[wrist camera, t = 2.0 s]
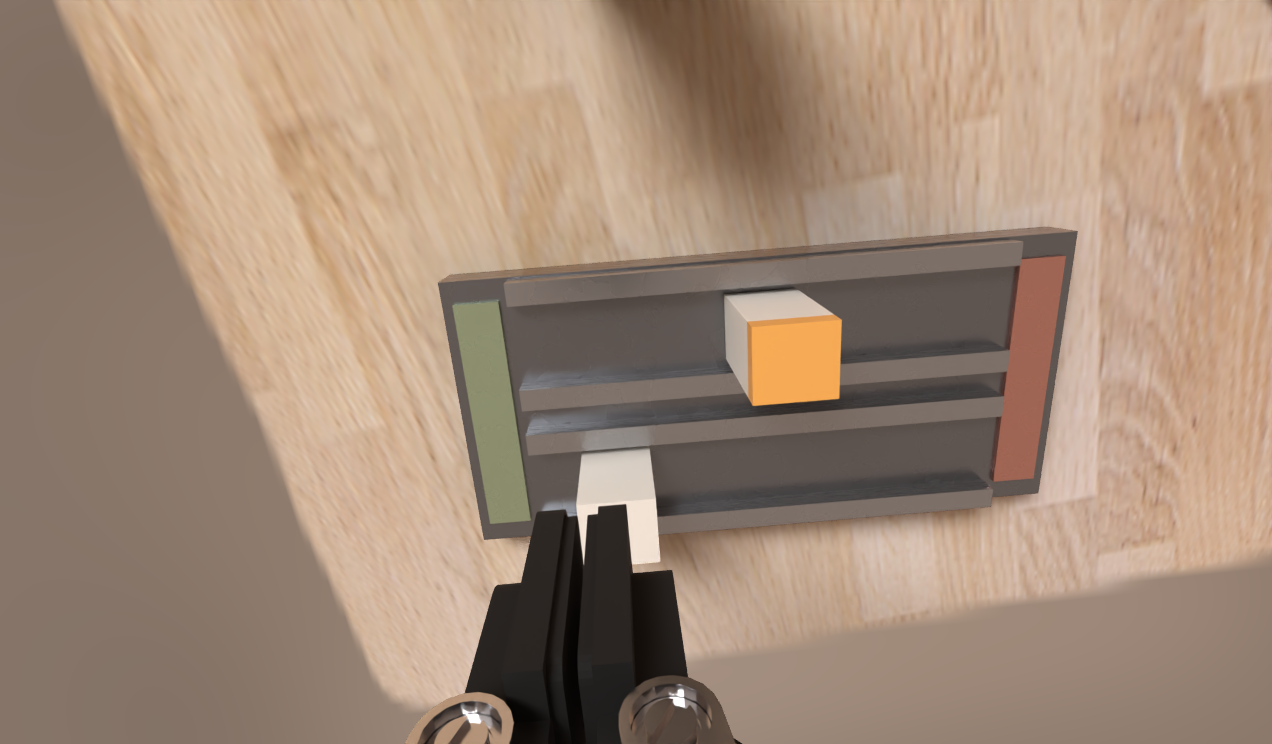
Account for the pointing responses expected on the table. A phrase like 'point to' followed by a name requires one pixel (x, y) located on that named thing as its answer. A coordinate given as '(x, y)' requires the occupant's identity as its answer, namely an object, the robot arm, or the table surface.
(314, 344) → the table surface
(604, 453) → the block
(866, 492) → the gray rail tray
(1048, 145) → the table surface
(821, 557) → the table surface
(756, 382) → the block
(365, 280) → the table surface
